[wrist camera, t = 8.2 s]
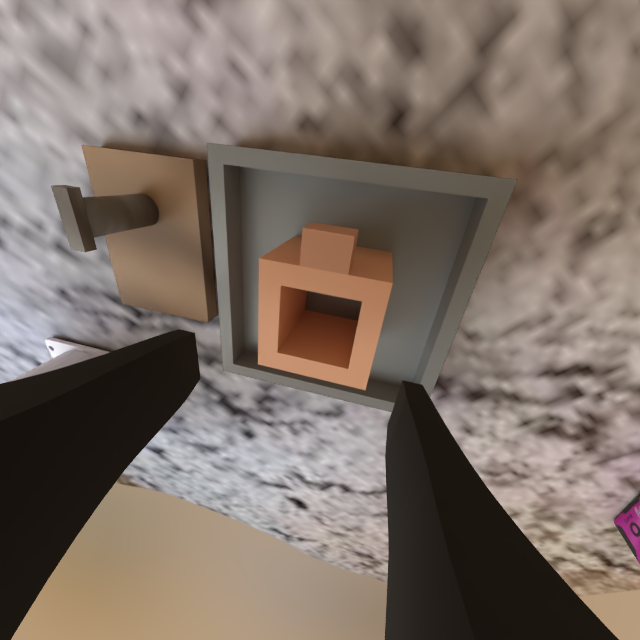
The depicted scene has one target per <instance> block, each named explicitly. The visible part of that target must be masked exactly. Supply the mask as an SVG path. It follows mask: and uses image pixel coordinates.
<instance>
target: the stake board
mask: <svg viewBox="0 0 640 640" xmlns="http://www.w3.org/2000/svg"><path fill="white" fill-rule="evenodd" d="M82 149H83V153H84V157H85V161H86V165H87V169H88V173H89V177H90V181H91V185H92V188H93V192H94V196H95V197H84V198H83V197H82V194H81V190H80V188H79V187H73V186H66V185H57V186H51V187H52V190H53V194H54V197H55V200H56V203H57V206H58V209H59V212H60V216H61V219H62V222H63V225H64V228H65V231H66V234H67V237H68V241H69V244H70V247H71V249H72V250H77V251H82V252H88V251H92V250H96V249H97V248H96V245H95V241H94V237H98V236H103V235H105V239H106V243H107V247H108V251H109V255H110V259H111V263H112V267H113V271H114V275H115V278H116V282H117V286H118V290H119V294H120V298H121V302H122V304H126V305H130V306H135V307H139V308H144V309H148V310H153V311H158V312H162V313H167V314H171V315H176V316H180V317H185V318H189V319H194V320H198V321H203V322H207V323H209V322H210V321H211V320H212V319H214V318H215V317H216V316H217V302H216V289H215V276H214V262H213V249H212V236H211V223H210V210H209V196H208V183H207V170H206V161H205V160H197V159H189V158H181V157H174V156H166V155H158V154H150V153H143V152H135V151H127V150H119V149H112V148H104V147H95V146H85V145H82Z"/></svg>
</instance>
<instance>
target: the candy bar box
mask: <svg viewBox="0 0 640 640" xmlns="http://www.w3.org/2000/svg"><path fill="white" fill-rule="evenodd" d="M614 524H615V525H616V527H617V528H618V530H619V532H620V533H621V535H622V536H623V538H624V540H625V541H626V543H627V544H628V546H629V548H630V549H631V551H632V552H633V554H634V556H635V557H636V559H637V560H638V562H639V564H640V495H639V496H638V497H637V498H636V499H635V500H634V501H633V502H632V503H631V504H630V505H629V506H628V507H627V508H626V509H625V510H624V511H623V512H622V513H621V514H620V515H619V516H618V517H617V518H616V519H615V520H614Z"/></svg>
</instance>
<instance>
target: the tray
mask: <svg viewBox="0 0 640 640" xmlns="http://www.w3.org/2000/svg"><path fill="white" fill-rule="evenodd" d="M207 155H208V169H209V183H210V197H211V210H212V224H213V238H214V252H215V266H216V279H217V293H218V307H219V321H220V335H221V348H222V362H223V371H227V372H231V373H235V374H239V375H243V376H247V377H251V378H255V379H259V380H263V381H267V382H271V383H275V384H279V385H283V386H287V387H292V388H296V389H300V390H304V391H308V392H312V393H316V394H320V395H324V396H328V397H332V398H336V399H340V400H344V401H348V402H352V403H357V404H361V405H365V406H369V407H373V408H377V409H381V410H385V411H389V412H392V411H393V407H394V404H395V401H396V398H397V395H398V392H399V389H400V386H401V383H402V380H404V381H408V382H413V383H417V384H422V385H423V387H424V388H425V390H426V392H427V393H428V395H429V397H430V396H431V394H432V391H433V389H434V386H435V384H436V381H437V379H438V376H439V374H440V371H441V369H442V366H443V364H444V361H445V359H446V356H447V354H448V351H449V349H450V346H451V344H452V341H453V339H454V336H455V334H456V332H457V329H458V327H459V324H460V322H461V319H462V317H463V314H464V312H465V309H466V307H467V304H468V302H469V299H470V297H471V294H472V292H473V289H474V287H475V284H476V282H477V279H478V277H479V274H480V272H481V269H482V267H483V264H484V262H485V259H486V257H487V254H488V252H489V249H490V247H491V244H492V242H493V239H494V237H495V234H496V232H497V229H498V227H499V224H500V222H501V220H502V217H503V215H504V212H505V210H506V207H507V205H508V202H509V200H510V197H511V195H512V192H513V190H514V187H515V185H516V182H517V180H516V179H507V178H499V177H490V176H482V175H473V174H465V173H457V172H448V171H440V170H431V169H423V168H415V167H406V166H398V165H389V164H381V163H373V162H364V161H356V160H347V159H339V158H330V157H322V156H314V155H305V154H297V153H288V152H280V151H272V150H263V149H255V148H246V147H238V146H230V145H221V144H213V143H207ZM312 222H315V223H321V224H328V225H334V226H340V227H346V228H352V229H359V232H358V238H357V243H356V246H357V247H363V248H369V249H375V250H381V251H387V252H392V261H393V285H392V288H391V292H390V296H389V300H388V304H387V308H386V312H385V316H384V320H383V324H382V327H381V331H380V335H379V339H378V343H377V347H376V351H375V355H374V359H373V363H372V367H371V370H370V374H369V378H368V382H367V386H366V390H362V389H358V388H354V387H350V386H346V385H341V384H337V383H333V382H329V381H325V380H321V379H317V378H313V377H308V376H304V375H300V374H296V373H292V372H288V371H284V370H280V369H275V368H271V367H267V366H263V365H259V364H258V305H259V258H260V257H262V256H264V255H265V254H267V253H268V252H270V251H272V250H273V249H275V248H276V247H278V246H280V245H281V244H283V243H285V242H286V241H288V240H289V239H291V238H293V237H294V236H298V237H302V230H303V227H305V226H306V225H308V224H310V223H312ZM361 305H362V301H357V300H352V299H347V298H342V297H337V296H332V295H327V294H322V293H317V292H312V291H307V295H306V305H305V310H309V311H313V312H318V313H323V314H328V315H333V316H337V317H342V318H347V319H352V320H357V321H358V320H359V315H360V310H361Z"/></svg>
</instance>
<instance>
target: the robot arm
mask: <svg viewBox="0 0 640 640" xmlns="http://www.w3.org/2000/svg"><path fill="white" fill-rule="evenodd" d="M45 343H46V345H47V347H48V350H49V352H50V354H51V357H52V359H51V360H49V361H47V362H45V363H43V364H41V365H40V366H38V367H36V368H34V369H32V370H30V371H28V372H27V373H25V374H23V375H21V376H19V377H17V378H15V379H14V380H12V381H10V382H6V383H2V384H0V640H11V638H12V637H13V635H14V633H15V632H16V630H17V628H18V627H19V625H20V623H21V622H22V620H23V619H24V617H25V615H26V614H27V612H28V610H29V609H30V607H31V606H32V604H33V603H34V601H35V599H36V598H37V596H38V594H39V593H40V591H41V590H42V588H43V586H44V585H45V583H46V582H47V580H48V578H49V577H50V575H51V574H52V572H53V571H54V569H55V568H56V566H57V565H58V563H59V562H60V560H61V559H62V557H63V556H64V554H65V553H66V551H67V550H68V548H69V547H70V545H71V544H72V542H73V541H74V539H75V538H76V536H77V535H78V533H79V532H80V531H81V529H82V528H83V526H84V525H85V523H86V522H87V521H88V519H89V518H90V516H91V515H92V513H93V512H94V510H95V509H96V508H97V507H98V505H99V504H100V502H101V501H102V499H103V498H104V497H105V495H106V494H107V493H108V492H109V490H110V489H111V488H112V486H113V485H114V484H115V482H116V481H117V480H118V478H119V477H120V475H121V474H122V473H123V472H124V470H125V469H126V468H127V467H128V465H129V464H130V463H131V462H132V461H133V459H134V458H135V457H136V456H137V455H138V454H139V453H140V452H141V450H142V449H143V448H144V447H145V446H146V445H147V444H148V443H149V441H150V440H151V439H152V438H153V437H154V436H155V435H156V434H157V433H158V431H159V430H160V429H161V428H162V427H163V426H164V425H165V424H166V422H167V421H168V420H169V419H170V418H171V417H172V416H173V415H174V413H175V412H176V411H177V410H178V409H179V408H180V407H181V405H182V404H183V403H184V402H185V400H186V399H187V397H188V396H189V395H190V393H191V392H192V390H193V389H194V387H195V386H196V384H197V383H198V381H199V380H200V372H199V364H198V355H197V347H196V339H195V333H193V332H188V331H184V330H175V331H171V332H168V333H165V334H162V335H159V336H156V337H153V338H150V339H147V340H144V341H141V342H138V343H135V344H133V345H130V346H127V347H124V348H121V349H118V350H115V351H112V352H108V351H104V350H100V349H96V348H92V347H88V346H84V345H80V344H76V343H72V342H68V341H64V340H60V339H56V338H52V337H50V338H47V339H46V340H45ZM385 459H386V486H387V509H388V533H389V561H388V585H387V607H386V626H385V627H386V628H385V640H619V639H618V638H617V637H616V636H615V635H614V634H613V633H612V632H611V631H610V630H609V629H608V628H607V627H606V626H605V625H604V624H603V623H602V622H601V621H600V619H599V618H598V617H597V616H596V615H595V614H594V613H593V612H592V611H591V610H590V609H589V608H588V607H587V605H586V604H585V603H584V602H583V601H582V600H581V599H580V598H579V597H578V596H577V595H576V593H575V592H574V591H573V590H572V589H571V588H570V587H569V586H568V584H567V583H566V582H565V581H564V580H563V579H562V578H561V577H560V575H559V574H558V573H557V572H556V571H555V570H554V569H553V567H552V566H551V565H550V564H549V563H548V562H547V561H546V560H545V558H544V557H543V556H542V555H541V554H540V553H539V552H538V550H537V549H536V548H535V547H534V546H533V544H532V543H531V542H530V541H529V540H528V539H527V537H526V536H525V535H524V534H523V533H522V531H521V530H520V529H519V528H518V526H517V525H516V524H515V523H514V521H513V520H512V519H511V518H510V516H509V515H508V514H507V512H506V511H505V510H504V509H503V507H502V506H501V505H500V504H499V502H498V501H497V500H496V499H495V497H494V496H493V495H492V493H491V492H490V491H489V489H488V488H487V487H486V485H485V484H484V482H483V481H482V480H481V478H480V477H479V475H478V474H477V472H476V471H475V470H474V468H473V467H472V465H471V464H470V462H469V461H468V459H467V458H466V456H465V455H464V453H463V452H462V450H461V449H460V447H459V446H458V444H457V442H456V441H455V439H454V438H453V436H452V434H451V433H450V431H449V430H448V428H447V426H446V425H445V423H444V421H443V420H442V418H441V416H440V415H439V413H438V411H437V409H436V408H435V406H434V404H433V402H432V401H431V399H430V397H429V395H428V393H427V392H426V390H425V388H424V387H423V385H422V384H417V383H413V382H408V381H404V380H402V383H401V386H400V389H399V392H398V395H397V398H396V401H395V404H394V407H393V411H392V414H391V417H390V420H389V423H388V427H387V440H386V455H385Z"/></svg>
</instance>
